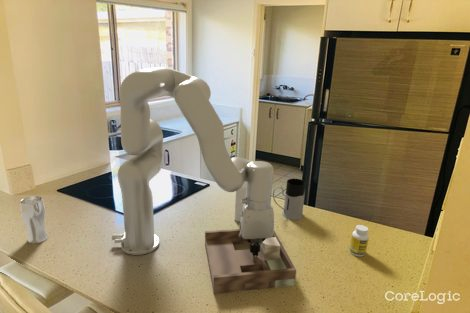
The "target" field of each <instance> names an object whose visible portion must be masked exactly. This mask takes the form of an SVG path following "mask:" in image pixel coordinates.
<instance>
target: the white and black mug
mask: <svg viewBox="0 0 470 313" xmlns="http://www.w3.org/2000/svg"><path fill="white" fill-rule="evenodd" d="M306 184H307V183H306V181H305V180H303V179H300V178H289V179H287V180H286V189H285V191H284V188H283V187H282V186H280V185H277V186H275V187H274V188H273V189H272V190H273V191H272V197H273V200H274V203H275V204H276V205H277V206H278V207H279V208H281V209H282V210H283V211H282V214H281V215H282V217H284V218H285V219H287V220H291V221H300V220H302V219H303V218H304V214H303V212H304V204H305V203H304V202H305V194H306ZM278 188H281V191H282V192H281V194H282V196H284V203H283V207H282V206H281V205H280V204H278V202H277V201H276V199H275V191H276V190H277V189H278ZM284 192H285V193H284Z"/></svg>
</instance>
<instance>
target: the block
mask: <svg viewBox="0 0 470 313" xmlns="http://www.w3.org/2000/svg"><path fill="white" fill-rule="evenodd" d="M260 253H261V255H262V257H263V260H264V261H267V260H278V259H279V255H280V244H279V242H278V241H277V239H276V237H271V238H266V239H265V240H264V241H263V242H262V244H261V245H260Z"/></svg>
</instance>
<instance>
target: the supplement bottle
mask: <svg viewBox="0 0 470 313" xmlns="http://www.w3.org/2000/svg"><path fill="white" fill-rule="evenodd" d="M368 233H369V228H368V227H367V226H366V225H363V224H357V225H356V226H355V228H354V230H353V232H352V233H351V238H350V244H349V248H348V250H349V252H350V253H351V255H353V256H356V257H363V256H365V255H366V253H367V247H368V243H369V239H370V236H369V234H368Z"/></svg>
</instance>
